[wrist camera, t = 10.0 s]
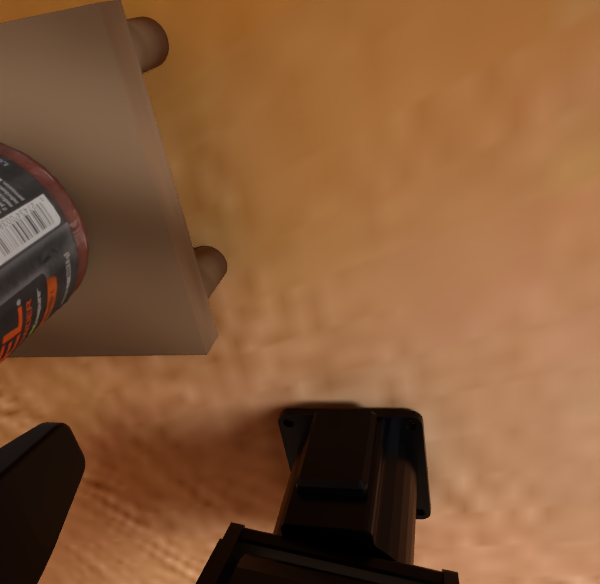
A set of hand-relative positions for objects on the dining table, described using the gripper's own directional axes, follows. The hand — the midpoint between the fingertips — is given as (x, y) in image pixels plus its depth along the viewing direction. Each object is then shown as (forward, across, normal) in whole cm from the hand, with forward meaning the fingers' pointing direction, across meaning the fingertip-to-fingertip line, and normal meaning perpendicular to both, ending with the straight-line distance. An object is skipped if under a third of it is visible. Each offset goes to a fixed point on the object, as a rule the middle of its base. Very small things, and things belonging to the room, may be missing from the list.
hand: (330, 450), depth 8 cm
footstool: (+13, +12, -1) cm, 18 cm away
